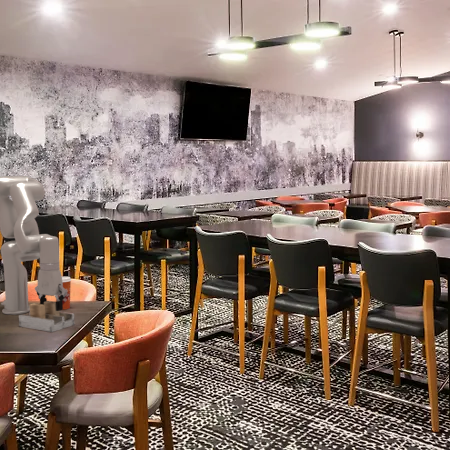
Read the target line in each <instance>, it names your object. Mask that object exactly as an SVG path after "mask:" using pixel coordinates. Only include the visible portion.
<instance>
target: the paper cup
mask: <svg viewBox="0 0 450 450" xmlns="http://www.w3.org/2000/svg"><path fill="white" fill-rule="evenodd" d="M71 282H72V279H71V277H70V276H62V283H63V288H64V289H65V290H67V294H66V295H65V298H64V300H63V310H70V307H71V284H72V283H71ZM58 297H59V295H58ZM56 301H57V300H56V299H55V302H56ZM63 310H62V311H63Z"/></svg>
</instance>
